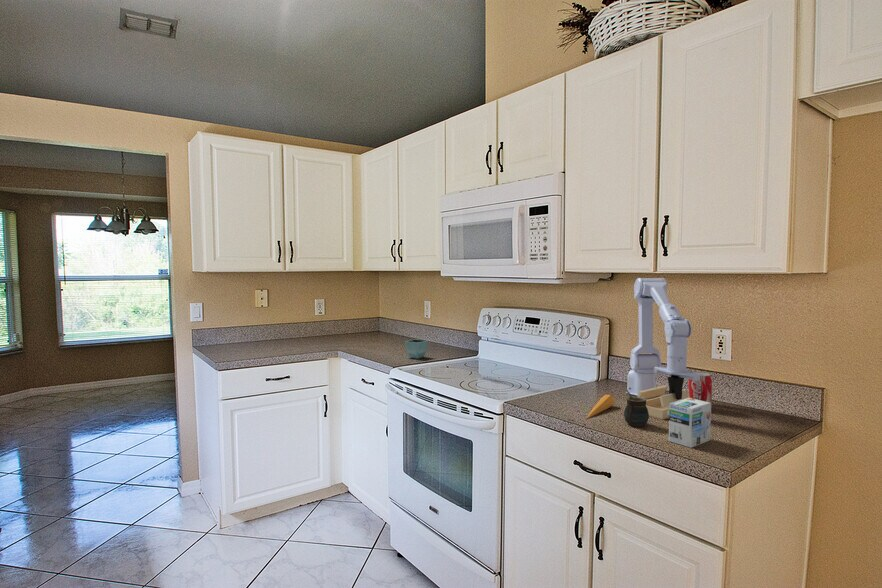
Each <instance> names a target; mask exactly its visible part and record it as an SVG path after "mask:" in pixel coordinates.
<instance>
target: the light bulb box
mask: <svg viewBox="0 0 882 588" xmlns="http://www.w3.org/2000/svg"><path fill="white" fill-rule="evenodd" d="M711 419H712V402H711V403H709V402H705V401H701V400H696V399H692V398H686V399H683V400H680V401H677V402H673V403H670V408H669V418H668V441H669V442H672V443H674V444H677V445H681V446H685V447H687V448H691V449H692V448H694V447H696V446H697V447H698V446H700V445H702V444H704V443H707V442H709V441H711V427H712V426H711V425H712V423H711V422H712V421H711Z"/></svg>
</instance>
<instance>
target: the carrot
mask: <svg viewBox="0 0 882 588" xmlns="http://www.w3.org/2000/svg"><path fill="white" fill-rule="evenodd" d="M614 405H615V398H614V397H613V396H612V395H611V394H605V395H603V396H602V397H601V398H600V399H599V401H598V402H597V403H596V404H595V405H594V407H593V408H591V409H592V410H591V411H590V412H589V413H588V415H587V416H586V419H589V418H591V417H594V416H596V415H598V414H600V413H602V412H604V411H606V410H607V409H610V408H611V407H613V406H614Z"/></svg>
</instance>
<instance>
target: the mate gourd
mask: <svg viewBox="0 0 882 588" xmlns="http://www.w3.org/2000/svg"><path fill="white" fill-rule="evenodd" d="M625 392H628V390H627V389H626V391H625ZM627 394H628V397H627V398H626V407H625V408H624V411H623V417H624V421H625V422H626V424H628V425H629V426H631V427H636V428H639V427H640V428H641V427H644V426H646V425H647V424H648V421H649V419H650V416H649V413H648V409H647V407H646V400H647V399H644V398H640V397H637V396H633V395H632V394H630V393H629V392H628V393H627Z"/></svg>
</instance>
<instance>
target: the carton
mask: <svg viewBox="0 0 882 588" xmlns="http://www.w3.org/2000/svg"><path fill="white" fill-rule="evenodd" d="M646 407H647V409H648V413H649V417H651V418H655V419H658V420H661V421H662V420H666V419H669V408H670V405H668V406H664V407H662V406H661V401H660V397H659V396H656V397H652V398H648V399H646Z"/></svg>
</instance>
